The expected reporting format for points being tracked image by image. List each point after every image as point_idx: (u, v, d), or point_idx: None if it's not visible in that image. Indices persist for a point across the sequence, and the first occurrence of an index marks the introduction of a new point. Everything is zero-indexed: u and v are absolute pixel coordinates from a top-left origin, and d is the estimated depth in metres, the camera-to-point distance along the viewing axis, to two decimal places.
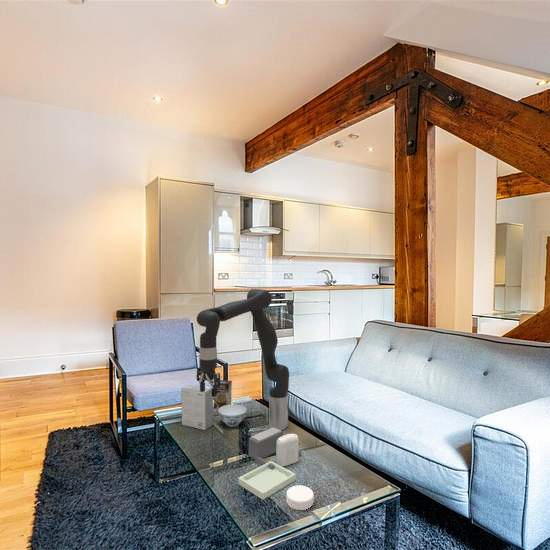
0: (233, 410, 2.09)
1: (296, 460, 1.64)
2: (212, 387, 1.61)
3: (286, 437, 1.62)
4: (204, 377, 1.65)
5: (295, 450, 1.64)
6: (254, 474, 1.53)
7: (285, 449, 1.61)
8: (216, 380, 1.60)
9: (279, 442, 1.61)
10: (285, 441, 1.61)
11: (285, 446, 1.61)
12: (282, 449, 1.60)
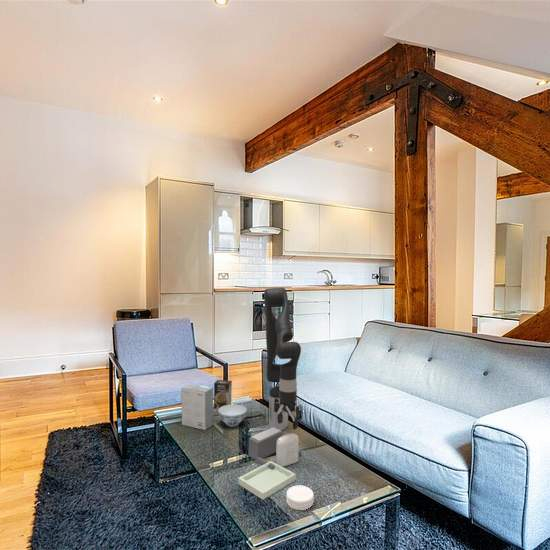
0: (233, 410, 2.09)
1: (296, 460, 1.64)
2: (294, 420, 1.59)
3: (286, 437, 1.62)
4: (283, 409, 1.63)
5: (295, 450, 1.64)
6: (254, 474, 1.53)
7: (285, 449, 1.61)
8: (298, 413, 1.58)
9: (279, 442, 1.61)
10: (285, 441, 1.61)
11: (285, 446, 1.61)
12: (282, 449, 1.60)
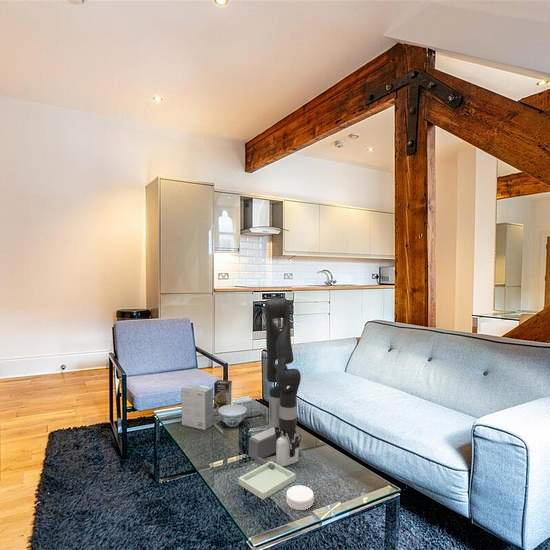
0: (233, 410, 2.09)
1: (296, 460, 1.64)
2: (291, 448, 1.61)
3: (286, 437, 1.62)
4: None
5: (295, 450, 1.64)
6: (254, 474, 1.53)
7: (285, 449, 1.61)
8: (297, 442, 1.59)
9: (279, 442, 1.61)
10: (285, 441, 1.61)
11: (285, 446, 1.61)
12: (282, 449, 1.60)
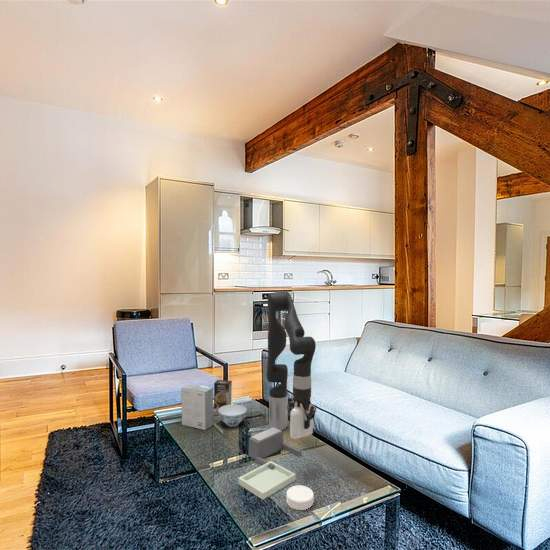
0: (233, 410, 2.09)
1: (311, 432, 1.57)
2: (305, 419, 1.53)
3: (300, 408, 1.55)
4: None
5: (310, 422, 1.56)
6: (254, 474, 1.53)
7: (299, 420, 1.53)
8: (312, 413, 1.52)
9: (293, 413, 1.53)
10: (300, 412, 1.53)
11: (300, 417, 1.53)
12: (297, 420, 1.53)
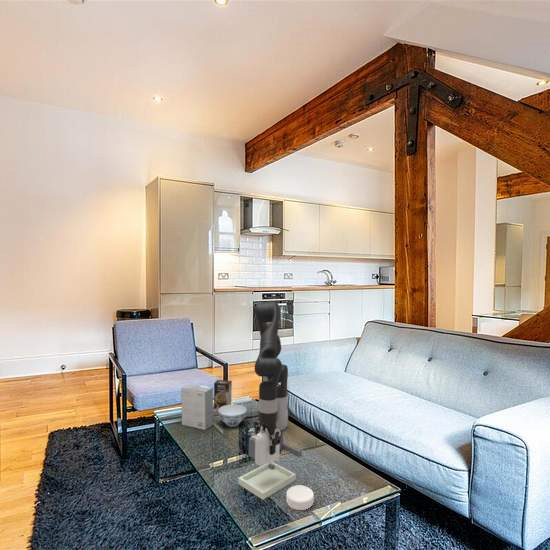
0: (233, 410, 2.09)
1: (277, 458, 1.50)
2: (271, 445, 1.46)
3: None
4: None
5: (276, 447, 1.49)
6: (254, 474, 1.53)
7: (264, 445, 1.46)
8: (277, 438, 1.45)
9: (258, 438, 1.46)
10: (265, 437, 1.46)
11: (265, 442, 1.46)
12: (261, 445, 1.46)
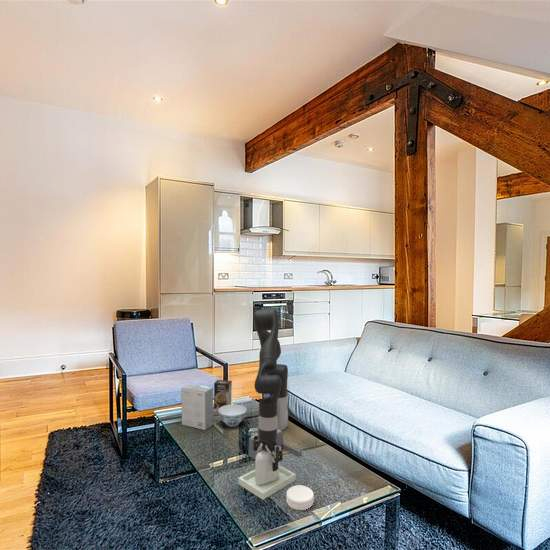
0: (233, 410, 2.09)
1: (277, 477, 1.50)
2: (273, 461, 1.45)
3: (266, 452, 1.48)
4: (263, 448, 1.49)
5: None
6: (254, 474, 1.53)
7: (265, 465, 1.47)
8: (278, 454, 1.44)
9: (258, 458, 1.46)
10: (265, 457, 1.47)
11: (265, 462, 1.47)
12: (262, 465, 1.46)
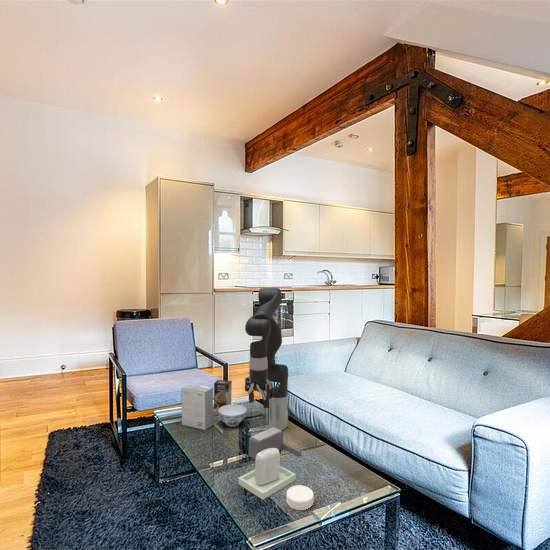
0: (233, 410, 2.09)
1: (277, 477, 1.50)
2: (264, 398, 1.54)
3: (266, 452, 1.48)
4: (254, 388, 1.58)
5: (276, 466, 1.50)
6: (254, 474, 1.53)
7: (265, 465, 1.47)
8: (269, 391, 1.53)
9: (258, 458, 1.46)
10: (265, 457, 1.47)
11: (265, 462, 1.47)
12: (262, 465, 1.46)
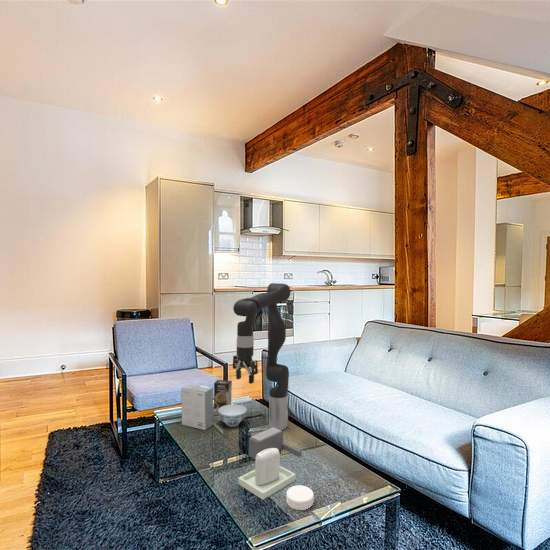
0: (233, 410, 2.09)
1: (277, 477, 1.50)
2: (250, 374, 1.66)
3: (266, 452, 1.48)
4: (241, 365, 1.70)
5: (276, 466, 1.50)
6: (254, 474, 1.53)
7: (265, 465, 1.47)
8: (254, 367, 1.65)
9: (258, 458, 1.46)
10: (265, 457, 1.47)
11: (265, 462, 1.47)
12: (262, 465, 1.46)
